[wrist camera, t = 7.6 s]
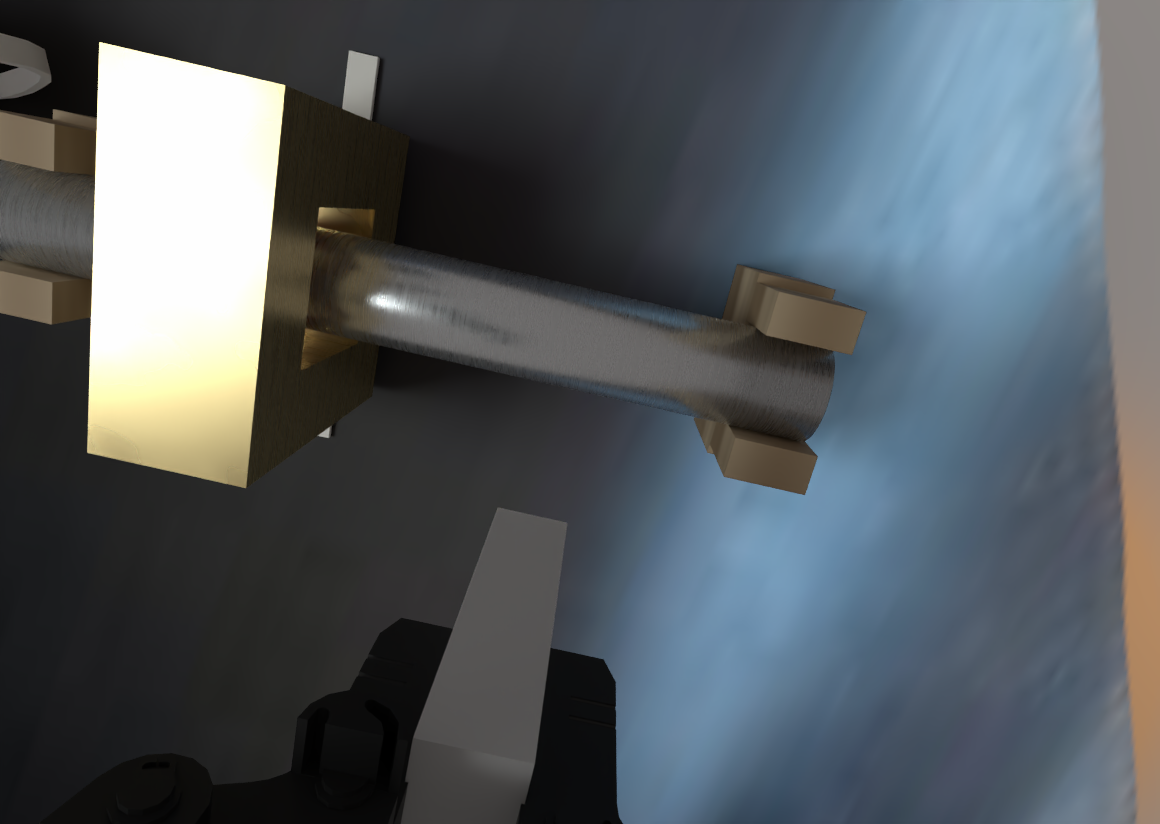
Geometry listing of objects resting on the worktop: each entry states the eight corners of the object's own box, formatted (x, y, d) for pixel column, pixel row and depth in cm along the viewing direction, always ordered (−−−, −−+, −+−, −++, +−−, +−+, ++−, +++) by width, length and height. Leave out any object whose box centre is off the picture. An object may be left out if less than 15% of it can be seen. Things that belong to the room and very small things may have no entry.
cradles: (132, 291, 27) (-32, 315, 20) (139, 126, 25) (-37, 91, 18) (754, 433, 27) (801, 504, 20) (801, 279, 25) (870, 300, 19)
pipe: (61, 264, 23) (-32, 272, 19) (63, 155, 22) (-35, 144, 18) (782, 429, 23) (810, 464, 20) (814, 328, 22) (849, 347, 19)
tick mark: (305, 431, 28) (303, 432, 28) (351, 51, 24) (349, 50, 24) (330, 436, 28) (328, 438, 28) (380, 58, 24) (377, 57, 24)
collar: (268, 372, 26) (87, 452, 17) (295, 109, 24) (99, 41, 15) (372, 396, 26) (246, 488, 17) (409, 136, 24) (284, 85, 15)
